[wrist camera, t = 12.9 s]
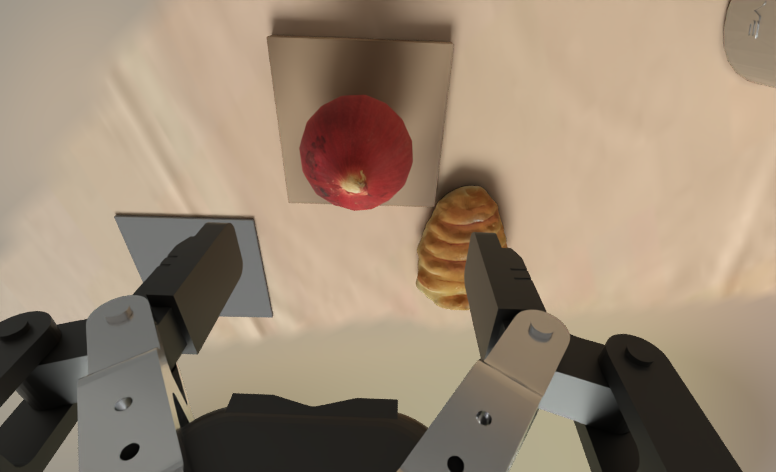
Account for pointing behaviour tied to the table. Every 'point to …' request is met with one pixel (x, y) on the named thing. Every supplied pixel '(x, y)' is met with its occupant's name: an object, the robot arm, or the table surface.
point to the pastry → (454, 244)
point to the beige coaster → (363, 77)
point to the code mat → (162, 234)
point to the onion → (356, 152)
